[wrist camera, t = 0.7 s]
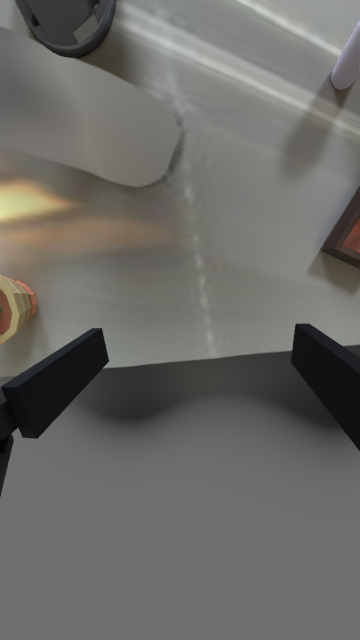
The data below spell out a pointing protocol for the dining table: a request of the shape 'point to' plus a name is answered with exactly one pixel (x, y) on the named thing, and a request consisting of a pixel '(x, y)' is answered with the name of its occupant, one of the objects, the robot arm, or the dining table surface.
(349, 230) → the tray
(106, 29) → the robot arm
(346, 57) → the smoothie
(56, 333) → the dining table surface
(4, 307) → the potted cactus
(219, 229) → the dining table surface
